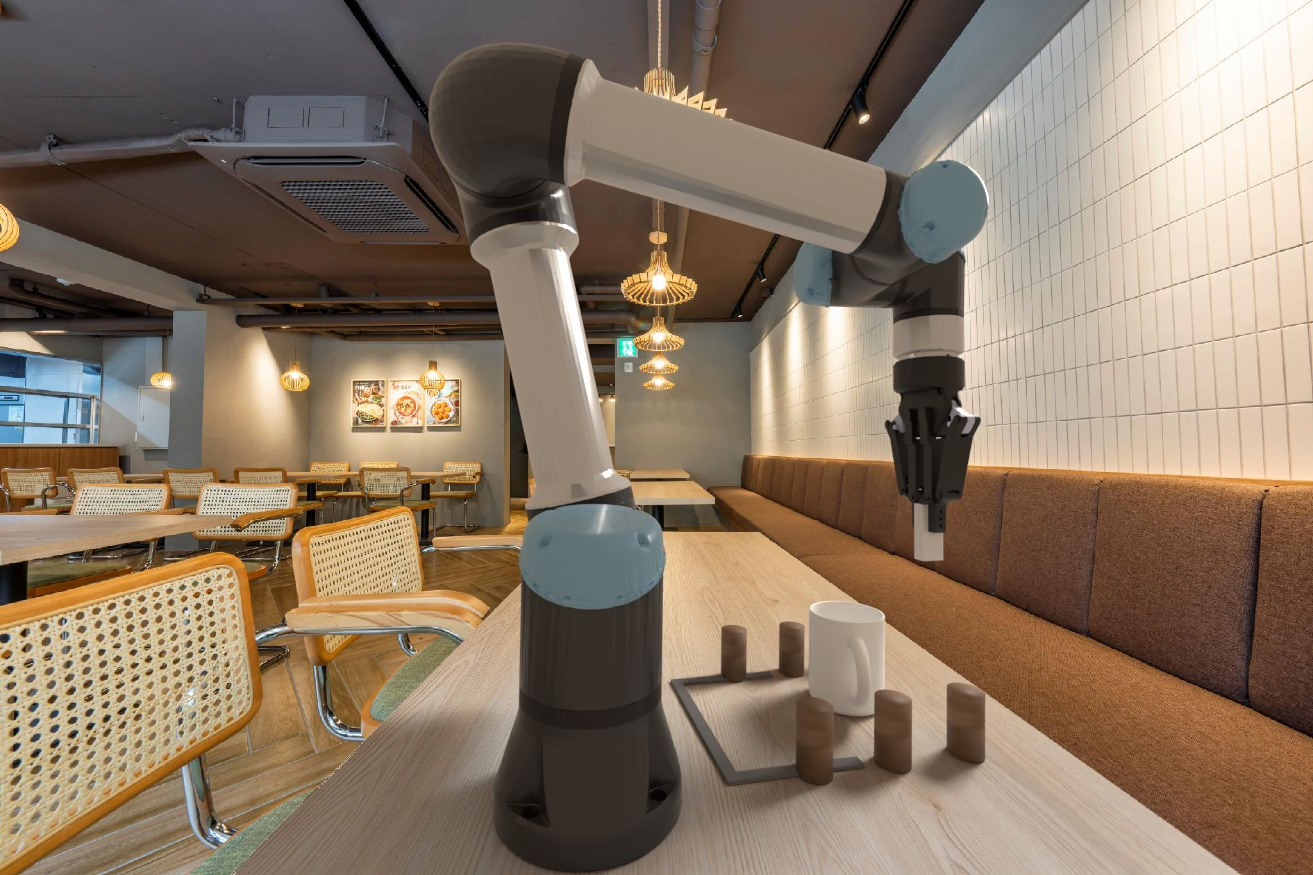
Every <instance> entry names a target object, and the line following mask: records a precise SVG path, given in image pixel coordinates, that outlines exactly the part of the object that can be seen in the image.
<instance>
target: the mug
mask: <svg viewBox="0 0 1313 875" xmlns="http://www.w3.org/2000/svg"><path fill="white" fill-rule="evenodd" d="M808 608H809V609H808V610H809V611H808V691H809V695H810V697H815V698H820V699H823V700H826V701H828V702H829V703H830V704H832V706H833V708H834V713H835V714H838V715H843V716H847V717H856V718H857V717H869V716H874V693H875V692H876V691H878V690H886V689H885V676H886V675H885V674H886V672H885V669H886V666H885V665H886V663H885V661H886V660H885V659H886V657H885V654H886V653H885V651H886V650H885V649H886V647H885V646H886V616H885V614H884V612H882V610H879V609H878V608H875V607H872V606H870V605H867V604H862V603H857V602H851V601H844V600H824V601H818V602H814V603H811V604H810V605H809V607H808Z"/></svg>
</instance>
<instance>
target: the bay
mask: <svg viewBox="0 0 1313 875" xmlns="http://www.w3.org/2000/svg"><path fill="white" fill-rule="evenodd" d="M774 677H775V675H774V673H772V671H770V670H766V671H765V670H763V671H755V672H746V677H745V681H746V680H747V681H748V680H757V679H759V680H760V679H770V678H771V679H772V678H774ZM723 682H724V683H726V682H728V679H727V678H724V677H723V676H722V675H721V674H720V675H719V674H718V675H707V676H693V677H685V678H683V677H681V678H671V679H670V683H671V685H672V687H673V688H674V690H675V692H676V694H677V696H678V699H680V701H681V703H682V704H683V707H684V708H685V710H686V713H687V715H689V717H690V719H691V721H692V724H693V725H694V726H695V728H696V730H697V732H698V734H699V736H700V738H701V739H702V741H703V743H704V745H705V746H706V748H707V751H708V752H709V754H710V756H711V757H712V759H713V761H714V763H715V765H716V766H717V768H718V770H719V772H720V773H721V775H722V778H723V779H724V781H725V782H726V784H727V786H732V785H739V784H740V785H741V784H748V783H749V784H750V783H756V782H763V781H772V780H777V779H779V780H780V779H786V778H794V777H799V776H798V771H797V770H796V763H793V764H785V765H779V766H778V765H777V766H769V767H762V768H755V769H754V768H753V769H748V770H747V769H746V770H739V771H738V770H737V771H736V769H735V767H734V766H733V764H732V762H731V761H730V759H729V758H728V756H727V754H726V752H725V750H724V749H723V747H722V746H721V744H720V743H719V741H718V739H717V738H716V736H715V734H714V732H713V730H712V729H711V727H710V726H709V724H708V722H707V721H706V719H705V717H704V715H703V714H702V712H701V711H700V709H699V708H698V706H697V705H696V702H695V701H694V699H693V698H692V696H691V694H690V693H689V691H688V689H687V687H686V686H691V685H701V684H712V683H713V684H715V683H723ZM865 765H866V764H865V762H864V761H862V760H861V759H860V757H858V755H855V756H849V757H848V756H847V757H841V758H833V772H838V771H845V770H853V769H861V768H865Z"/></svg>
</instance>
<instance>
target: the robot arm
mask: <svg viewBox="0 0 1313 875" xmlns="http://www.w3.org/2000/svg"><path fill="white" fill-rule="evenodd" d="M428 105H429V106H428V123H429V132H430V136H431V141H432V143H433V145H434V149H435V152H436V153H437V156H438V157H439V161H441V163H442V165H443V167H444V168H445V170H446V172H447V174H448V176H449V179H450V181H451V182H452V184H453V186H454V188H455V191H456V193H457V196H458V200H459V205H460V208H461V214H462V217H463V223H464V227H465V232H466V236H467V242H468V245H469V249H470V254H471V257H472V258H473V260H474V261H476V262H477V263H479V264H480V265H481V266H483V267H485V268H486V269H488V270H489V274H490V278H491V282H492V287H493V293H494V296H495V302H496V306H497V311H498V316H499V320H500V323H501V324H500V325H501V330H502V334H503V339H504V343H505V348H506V353H507V357H508V363H509V366H510V367H509V368H510V372H511V376H512V381H513V386H514V390H515V396H516V400H517V405H518V409H519V414H520V419H521V423H522V428H523V434H524V438H525V443H526V446H527V452H528V457H529V461H530V466H531V470H532V475H533V479H534V486H535V487H534V491H533V493H532V494H531V496H530V498H529V499H528V501H527V502H526V503H525V505H524V506H525V512H526V517H527V518H526V519H527V521H528V522H527V524H526V526H525V528H524V530H523V534H522V544H521V547H520V550H519V553H518V554H519V555H518V566H519V569H520V575H521V578H520V579H521V580H520V581H521V582H520V584H521V585H520V587H521V589H520V619H519V620H520V622H519V623H520V627H519V628H520V629H519V633H520V634H519V664H518V665H519V667H518V669H519V670H518V672H519V674H518V683H519V684H518V686H519V688H518V709H517V712H516V716H515V718H514V721H513V723H512V724H513V725H512V727H511V731H510V733H509V737H508V739H507V742H506V745H505V748H504V751H503V754H502V758H501V761H500V764H499V767H498V770H497V772H496V775H495V780H494V786H493V824H494V826H495V830H496V832H497V834H498V835H499V838H500V840H501V841H502V842H503V843H504V844H505V845H506V846H507V848H509V850H510V851H512V852H513V853H515V854H516V855H517V856H519V857H521V858H522V859H524V860H526V861H528V862H531V863H533V864H534V865H538V866H542V867H545V868H549V869H552V870H557V871H558V870H559V871H567V872H568V871H570V872H582V871H583V872H585V871H595V870H602V869H608V868H612V867H615V866H618V865H623V864H625V863H628V862H630V861H632V860H634V859H637V858H639V857H641V856H642V855H644V854H646V853H648V852H649V851H651V850H652V849H654V848H655V847H656V846H658V845H659V844H661V843H662V841H663V840H664V839H665V838H667V836H668V835H669V834H670V832H672V830H673V828H674V827H675V825H676V823H677V821H678V818H679V816H680V814H681V809H682V800H683V799H682V797H683V796H682V794H683V792H682V791H683V790H682V788H683V787H682V786H683V785H682V784H683V783H682V782H683V778H682V777H683V776H682V768H681V763H680V760H679V757H678V754H677V753H678V752H677V750H676V746H675V743H674V740H673V737H672V733H671V731H670V727H669V723H668V720H667V716H666V714H665V710H664V707H663V702H662V700H663V699H662V691H663V690H662V689H663V688H662V687H663V686H662V683H663V682H662V680H663V679H662V678H663V624H664V623H663V622H664V620H663V618H664V616H663V615H664V614H663V613H664V609H663V608H664V605H663V604H664V573H665V566H666V562H667V552H666V549H665V546H664V533H663V529H662V527H661V524H660V523H659V522H658V520H657V519H656V518H655V517H654V516H652V515H651V514H649V513H647V512H645V511H643V510H639V509H637V506H636V501H635V497H634V493H633V492H634V491H633V488H632V483H631V481H630V480H628V479H627V478H626V477H624V476H623V475H621V474H620V473H618V472H617V471H616V470H615V469H614V465H613V461H612V460H613V459H612V455H611V451H610V446H609V441H608V436H607V431H606V427H605V421H604V417H603V413H602V406H601V403H600V398H599V394H598V389H597V383H596V380H595V374H594V369H593V366H592V361H591V356H590V351H589V347H588V346H589V345H588V341H587V337H586V331H585V327H584V324H583V317H582V313H581V309H580V304H579V299H578V295H577V294H578V293H577V290H576V286H575V285H576V284H575V279H574V276H573V271H572V267H571V262H570V257H571V256H572V255H573V253H574V251H575V250H576V248H578V245H579V243H580V237H579V232H578V228H577V223H576V220H575V219H576V218H575V214H574V209H573V204H572V199H571V194H570V190H569V187H573V186H575V185H577V183H579V182H581V181H583V180H590V181H593V182H597V183H601V184H603V185H607V186H611V187H613V188H618V189H622V190H624V191H628V192H632V193H634V194H638V195H642V196H645V197H649V198H652V199H656V200H659V201H663V202H665V203H670V204H673V205H677V206H680V207H683V208H687V209H690V210H694V211H697V212H700V213H704V214H708V215H711V216H715V217H718V218H721V219H725V220H729V221H732V222H736V223H739V224H741V225H746V226H748V227H752V228H757V229H760V230H764V231H767V232H770V233H773V234H778V235H780V236H784V237H788V238H791V239H794V240H798V241H801V242H803V244H802V245H801V247H800V248H799V250H798V253H797V255H796V259H795V262H794V268H793V287H794V288H793V289H794V293H795V295H796V298H797V299H798V300H799V301H800V302H801V303H802V304H804V305H809V306H810V305H811V306H818V307H819V306H820V307H824V308H830V307H833V308H835V307H837V308H869V309H870V308H871V309H872V308H873V309H876V308H877V309H892V358H894V359H896V360H898V361H896V362H895V363H894V364H893V366H892V388H893V391H894V393H895V394H899V395H900V396H899V397H900V402H899V405H898V409H897V411H898V414H897V415H896V416H895V417H894V419H886V420H885V421H884V428H885V430H886V432H887V434H888V437H889V440H890V446H891V452H892V453H891V454H892V459H893V464H894V471H895V478H896V485H897V491H898V494H899V495H900V496H905V497H906V498H908V500H909V502H911V525H912V529H913V530H914V531H913V532H914V534H913V537H914V540H913V541H914V542H913V546H914V548H913V549H914V550H913V551H914V553H913V557H914V559H915V560H917V561H921V562H934V561H935V562H936V561H944V534H945V533H946V530H947V505H948V504H949V503H951V502H954V501H960V500H961V499H962V497H963V493H964V488H965V482H966V479H967V478H966V477H967V472H968V466H969V460H970V456H971V450H972V446H973V445H972V444H973V442H974V436H975V434H976V432H977V430H978V428H979V426H980V424H981V423H982V421H981V420H982V419H981V416H980V415H979V414H970V413H968V412H967V411H965V410H964V409H963V407H962V406H963V404H962V400H961V398H960V396H959V395H960V394H959V392H960V391H962V390H963V389H965V387H966V380H965V379H966V363H965V362H966V361H965V360H964V359H963V358H962V357H960V355H962V354H963V353H964V352H965V280H966V278H965V273H966V270H965V268H966V263H967V261H966V257H967V256H966V255H965V246H967V245H968V244H970V243H971V242H972V241H974V239H976V238H977V237H978V235H979V234H980V232H981V231H982V230H983V228H984V226H985V223H986V222H987V218H988V213H989V204H990V202H989V200H990V199H989V194H988V190H987V188H986V185H985V183H984V181H983V179H982V178H981V176H980V175H979V174H978V173H977V172H976V170H974V169H973V168H971V167H970V166H969V165H967V164H966V163H965V162H962V161H959V160H954V159H946V160H937V161H933V162H931V163H929V164H927V165H925V166H924V167H921V168H919V169H918V170H915V171H914V172H912V173H911V174H910V175H907V174H904V173H901V172H896V171H894V170H891V169H890V170H889V169H887V168H886V169H885V168H883V167H881V166H878V165H875V164H871V163H868V162H865V161H862V160H858V159H855V158H852V157H850V156H847V155H843V154H839V153H838V152H833V151H831V150H829V149H824V148H822V147H818V146H815V145H811V144H808V143H805V142H802V141H799V140H795V139H793V138H790V137H786V136H783V135H780V134H777V133H774V132H771V131H768V130H765V129H762V128H757V127H755V126H752V125H749V124H746V123H742V122H739V121H736V120H734V119H731V118H727V117H724V116H721V115H718V114H714V113H712V112H708V111H705V110H703V109H699V108H696V107H692V106H690V105H686V104H683V103H680V102H676V101H673V100H670V99H667V98H665V97H661V96H658V95H655V94H652V93H648V92H645V91H643V90H639V89H635V88H633V87H629V86H626V85H624V84H620V83H617V82H614V81H611V80H608V79H604V78H603V77H602V76H601V74H600V72H599V70H598V69H597V67H596V65H595V63H594V61H593V60H592V59H591V58H590V59H589V58H587V57H583V56H581V55H577V54H574V53H571V52H567V51H564V50H560V49H556V48H553V47H549V46H545V45H541V44H533V43H529V42H528V43H527V42H513V41H512V42H511V41H510V42H509V41H508V42H507V41H506V42H496V43H486V44H483V45H479V46H476V47H473V48H472V49H469V50H467V51H464V52H463V53H460V54H459V55H458V56H456V57H455V58H454V59H453V60H451V61H450V63H448V64H447V66H446V67H445V68H444V69H443V71H442V72H441V73H440V74H439V75H438V77H437V79H436V82H435V83H434V86H433V89H432V92H431V94H430V98H429V103H428Z"/></svg>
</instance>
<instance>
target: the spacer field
mask: <svg viewBox="0 0 1313 875" xmlns="http://www.w3.org/2000/svg"><path fill="white" fill-rule="evenodd" d="M778 625H779V627H778V630H779V632H778V672H779V673H780V674H781V675H782V676H783V675H784V676H785V677H788V678H789V677H790V678H799V677H803V676H804V674H805V637H806V636H805V632H806V631H805V628H806V627H805V625H804V624H802V623H801V622H797V621H789V620H788V621H782V622H779V624H778ZM720 630H721V632H720V633H721V634H720V635H721V637H720V640H721V641H720V647H721V648H720V675H722V676H723V677H724V678H727V679H728V681H727V682H729V683H742V682H744V681H746V680H745V677H746V673H747V650H748V649H747V647H748V646H747V642H748V640H747V639H748V633H747V632H748V629H747V628H746V627H745V626H743V625H737V624H727V625H723V626H721V628H720ZM795 704H796V708H795V710H796V713H795V714H796V717H795V718H796V719H795V720H796V722H795V764H796V770H797V771H798V776H797V777H799V778H800V779H801V780H803V781H804V782H807V783H809V784H813V785H818V786H820V785H827V784H830V783H831V782H832V781H833V780H834V771H833V759H834V720H835V718H834V717H835V716H834V708H833V706H832V704H830V703H829V702H828V701H826V700H823V699H820V698H815V697H811V696H804V697H801V698H798V699H797V700H796V703H795ZM873 719H874V720H873V760H874V761H873V762H874V763H875V764H876V765H877V766H879V767H880V768H881V769H883V770H885V771H888V772H890V773H894V774H907V773H909V772H911V770H912V768H913V762H912V761H913V748H912V747H913V700H912V698H911V697H910V696H908V695H907V694H905V693H903V692H901V691H897V690H892V689H885V690H878V691H876V692H875V693H874V714H873ZM946 751H947V753H949V755H951V756H953V757H954V758H956V759H957V760H959V761H964V762H965V763H970V764H979V763H983V762H985V761H986V693H985V691H984V690H982V689H981V688H979V687H978V686H975V685H972V684H969V683H963V682H950V683H948V684H946Z"/></svg>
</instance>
